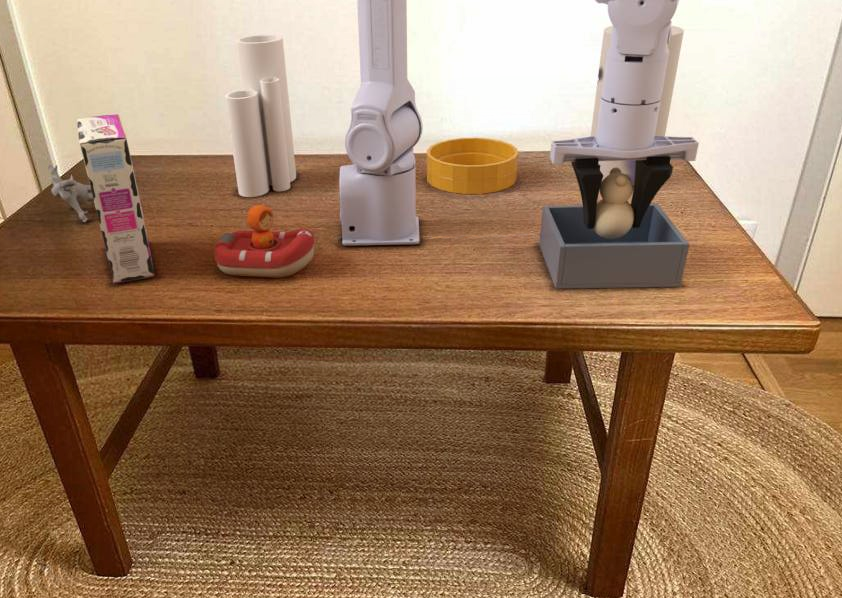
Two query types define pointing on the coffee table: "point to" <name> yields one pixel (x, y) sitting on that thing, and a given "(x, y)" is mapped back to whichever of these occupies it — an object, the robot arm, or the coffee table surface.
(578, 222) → the bin
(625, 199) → the beige rounded figure
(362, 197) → the robot arm
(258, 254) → the toy boat
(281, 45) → the vase
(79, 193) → the elephant figurine
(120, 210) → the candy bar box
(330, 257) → the coffee table surface
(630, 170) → the container
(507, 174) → the bowl
